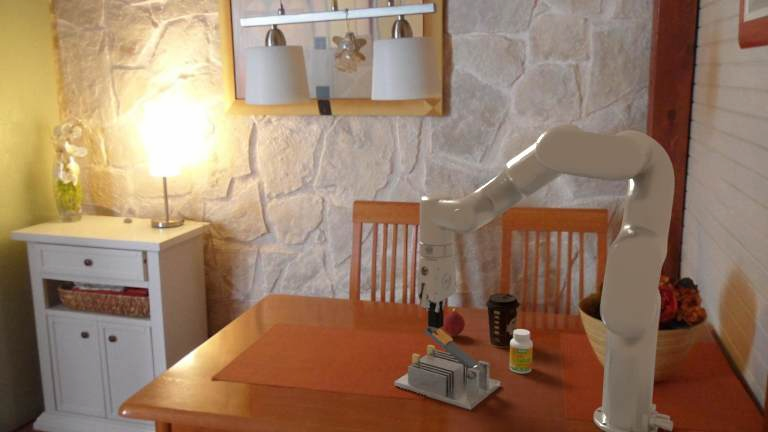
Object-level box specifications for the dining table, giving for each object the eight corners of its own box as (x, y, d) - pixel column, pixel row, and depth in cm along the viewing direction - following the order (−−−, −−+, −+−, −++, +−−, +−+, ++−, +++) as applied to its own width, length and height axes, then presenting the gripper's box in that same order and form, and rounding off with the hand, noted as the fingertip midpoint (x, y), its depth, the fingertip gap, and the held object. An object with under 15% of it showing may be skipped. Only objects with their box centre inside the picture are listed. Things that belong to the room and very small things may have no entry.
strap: (483, 375, 155) (488, 367, 154) (476, 380, 153) (481, 372, 151) (429, 330, 162) (433, 322, 161) (422, 334, 159) (426, 326, 158)
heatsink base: (500, 386, 159) (500, 356, 158) (470, 410, 148) (471, 378, 147) (427, 365, 171) (427, 337, 169) (394, 386, 160) (394, 356, 158)
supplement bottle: (515, 375, 165) (516, 337, 163) (505, 366, 170) (506, 329, 168) (535, 372, 166) (537, 334, 164) (525, 363, 171) (526, 326, 169)
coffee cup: (517, 338, 187) (518, 292, 185) (519, 350, 179) (521, 302, 177) (484, 337, 188) (485, 291, 186) (486, 349, 180) (487, 302, 178)
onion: (465, 340, 186) (465, 312, 184) (444, 340, 186) (444, 312, 185) (463, 332, 192) (463, 305, 190) (442, 332, 192) (443, 305, 190)
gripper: (432, 259, 147) (432, 340, 150) (467, 244, 158) (466, 320, 162) (403, 254, 151) (403, 333, 155) (439, 240, 163) (438, 313, 167)
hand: (435, 326), depth 158 cm, fingers closed
